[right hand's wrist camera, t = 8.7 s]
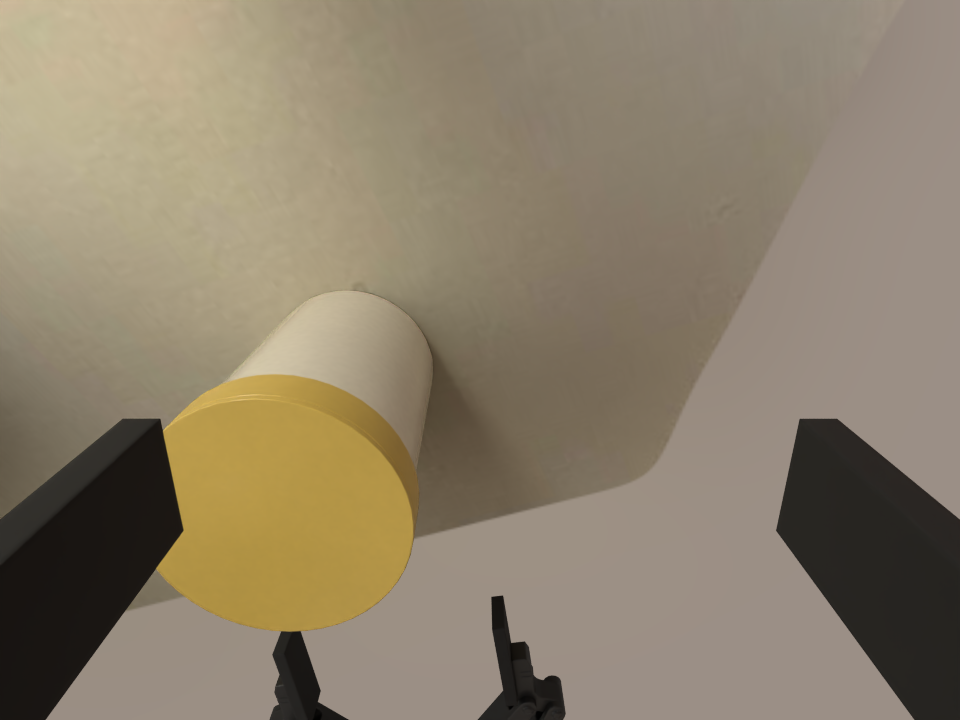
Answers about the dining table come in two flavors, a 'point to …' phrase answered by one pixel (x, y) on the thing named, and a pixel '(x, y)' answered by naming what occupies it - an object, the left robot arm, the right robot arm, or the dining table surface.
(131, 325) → the dining table surface
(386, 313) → the jar
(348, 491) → the lid
